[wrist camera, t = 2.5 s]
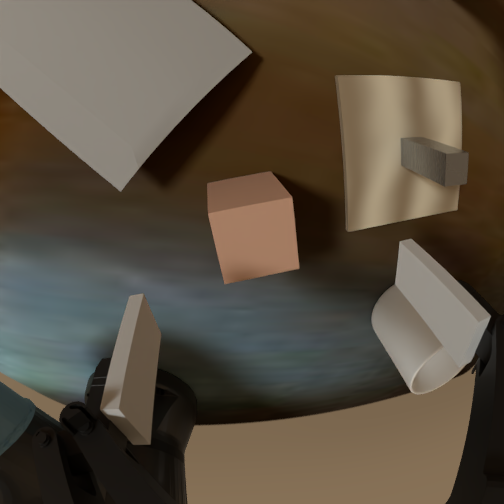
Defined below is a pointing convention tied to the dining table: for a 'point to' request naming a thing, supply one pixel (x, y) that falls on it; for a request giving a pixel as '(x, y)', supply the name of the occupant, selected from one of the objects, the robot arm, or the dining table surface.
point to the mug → (411, 343)
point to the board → (394, 145)
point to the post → (435, 160)
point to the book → (112, 72)
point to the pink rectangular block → (252, 226)
